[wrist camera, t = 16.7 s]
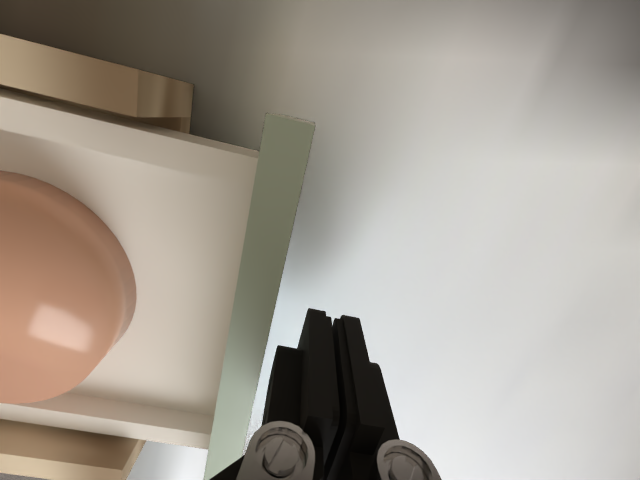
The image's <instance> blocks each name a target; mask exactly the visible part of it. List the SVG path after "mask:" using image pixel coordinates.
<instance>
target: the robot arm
mask: <svg viewBox="0 0 640 480" xmlns="http://www.w3.org/2000/svg"><path fill="white" fill-rule="evenodd" d="M209 480H441V478H440V476H439V473H438V471H437V469H436V468H435V466H434V464H433V463H432V461H431V460H430V459H429V457H428V456H427V455H426V454H425V453H424V452H423V451H422V450H420V449H419V448H418V447H416V446H415V445H413V444H411V443H409V442H406V441H403V440H400V439H399V436H398V432H397V428H396V424H395V421H394V417H393V413H392V410H391V406H390V402H389V399H388V395H387V391H386V387H385V384H384V380H383V376H382V373H381V369H380V367H379V365H378V364H377V363H371V362H370V361H369V357H368V353H367V348H366V344H365V340H364V335H363V331H362V327H361V323H360V319H359V318H356V317H350V316H345V315H342V316H341V318H340V319H337V318H335V320H334V322H333V325H332V321H331V317H327V316H326V312H325V311H320V310H315V309H310V308H309V309H308V311H307V314H306V318H305V322H304V325H303V329H302V333H301V337H300V340H299V344H298V348H297V349H295V348H290V347H285V346H279V345H278V346H277V349H276V353H275V357H274V361H273V366H272V370H271V375H270V380H269V385H268V390H267V396H266V402H265V408H264V414H263V421H262V426H261V427H260V428H259V429H258V430H257V431H256V432H255V433H254V435H253V437H252V438H251V440H250V442H249V445H248V448H247V451H246V453H245V455H244V456H242V457H241V458H239V459H238V460H236V461H235V462H234V463H232V464H231V465H229V466H228V467H226V468H225V469H224V470H222V471H221V472H219V473H218V474H216V475H215V476H214V477H212V478H211V479H209Z"/></svg>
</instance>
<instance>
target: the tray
mask: <svg viewBox="0 0 640 480" xmlns="http://www.w3.org/2000/svg"><path fill="white" fill-rule="evenodd" d="M314 130H315V123H313V122H309V121H306V120H302V119H298V118H294V117H290V116H286V115H282V114H269V113H266V115H265V121H264V127H263V133H262V139H261V145H260V151H257V150H253V149H248V148H244V147H240V146H236V145H232V144H228V143H224V142H220V141H215V140H211V139H207V138H203V137H199V136H195V135H191V134H187V133H182V132H178V131H174V130H170V129H166V128H162V127H158V126H154V125H149V124H145V123H141V122H137V121H133V120H129V119H125V118H121V117H116V116H112V115H108V114H104V113H100V112H96V111H92V110H88V109H83V108H79V107H75V106H71V105H67V104H63V103H59V102H55V101H50V100H46V99H42V98H38V97H34V96H30V95H26V94H22V93H18V92H13V91H9V90H5V89H1V88H0V170H1V171H8V172H14V173H19V174H23V175H26V176H30V177H34V178H36V179H39V180H41V181H44V182H46V183H49V184H51V185H53V186H55V187H57V188H59V189H61V190H63V191H65V192H67V193H68V194H70V195H71V196H73V197H74V198H76V199H77V200H79V201H80V202H82V203H83V204H84V205H85V206H87V207H88V208H89V209H90V210H92V211H93V212H94V213H95V214H96V215H97V216H98V217H99V218H100V219H101V220H102V221H103V222H104V223H105V224H106V225H107V226H108V228H109V229H110V230H111V231H112V233H113V234H114V235H115V236H116V238H117V239H118V241H119V242H120V244H121V246H122V247H123V249H124V251H125V253H126V255H127V257H128V259H129V261H130V264H131V267H132V270H133V273H134V277H135V283H136V294H137V300H136V307H135V312H134V315H133V319H132V321H131V323H130V325H129V327H128V329H127V331H126V332H125V333H124V335H123V336H122V337H121V339H120V340H119V341H118V342H117V343H116V344H115V346H114V347H113V348H112V349H111V350H110V351H109V352H108V354H107V355H106V356H105V357H104V358H103V359H102V360H101V362H100V363H99V364H98V365H97V366H96V367H95V368H94V370H93V371H92V372H91V373H90V374H89V375H88V376H87V377H86V378H85V379H84V380H83V381H82V382H81V383H80V384H78V385H77V386H76V387H74V388H73V389H71V390H70V391H67V392H65V393H63V394H61V395H59V396H56V397H53V398H50V399H47V400H43V401H37V402H32V403H20V404H9V403H0V419H6V420H12V421H19V422H26V423H33V424H39V425H46V426H53V427H60V428H66V429H73V430H80V431H87V432H94V433H100V434H107V435H114V436H121V437H127V438H134V439H141V440H148V441H155V442H161V443H168V444H175V445H182V446H188V447H195V448H202V449H209V450H208V456H207V462H206V468H205V473H204V479H203V480H209V479H211V478H212V477H214V476H215V475H216V474H218V473H219V472H221V471H222V470H224V469H225V468H226V467H228V466H229V465H231V464H232V463H234V462H235V461H236V460H238V459H239V458H241V457H242V453H243V448H244V444H245V439H246V435H247V430H248V426H249V421H250V417H251V412H252V408H253V403H254V399H255V394H256V390H257V385H258V381H259V376H260V372H261V367H262V363H263V358H264V354H265V349H266V345H267V341H268V336H269V332H270V327H271V323H272V318H273V314H274V309H275V305H276V300H277V296H278V291H279V287H280V282H281V278H282V273H283V269H284V264H285V260H286V255H287V251H288V246H289V242H290V237H291V233H292V228H293V224H294V219H295V215H296V210H297V206H298V201H299V197H300V192H301V188H302V183H303V179H304V174H305V170H306V166H307V161H308V157H309V152H310V148H311V143H312V139H313V134H314Z"/></svg>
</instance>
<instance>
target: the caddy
mask: <svg viewBox="0 0 640 480" xmlns="http://www.w3.org/2000/svg"><path fill="white" fill-rule="evenodd" d="M0 88H1V89H5V90H9V91H13V92H18V93H22V94H26V95H30V96H34V97H38V98H42V99H46V100H50V101H55V102H59V103H63V104H67V105H71V106H75V107H79V108H83V109H88V110H92V111H96V112H100V113H104V114H108V115H112V116H116V117H121V118H125V119H129V120H133V121H137V122H141V123H145V124H149V125H154V126H158V127H162V128H166V129H170V130H174V131H178V132H182V133H187V134H189V131H190V121H191V110H192V100H193V89H194V84H190V83H186V82H183V81H179V80H175V79H172V78H168V77H164V76H161V75H157V74H153V73H149V72H146V71H142V70H138V69H134V68H131V67H127V66H123V65H119V64H115V63H111V62H107V61H103V60H100V59H96V58H92V57H88V56H84V55H80V54H76V53H72V52H69V51H65V50H61V49H57V48H53V47H49V46H45V45H41V44H38V43H34V42H30V41H26V40H22V39H18V38H14V37H10V36H7V35H3V34H0ZM145 442H146V440H141V439H134V438H127V437H121V436H114V435H107V434H100V433H94V432H87V431H80V430H73V429H66V428H60V427H53V426H46V425H39V424H33V423H26V422H19V421H12V420H6V419H0V473H7V474H14V475H22V476H29V477H37V478H45V479H52V480H126V479H127V477H128V475H129V473H130V471H131V469H132V467H133V465H134V463H135V461H136V460H137V458H138V456H139V454H140V452H141V450H142V448H143V446H144V444H145Z"/></svg>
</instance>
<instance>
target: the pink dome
mask: <svg viewBox="0 0 640 480" xmlns="http://www.w3.org/2000/svg"><path fill="white" fill-rule="evenodd" d="M136 300H137V294H136V283H135V277H134V273H133V270H132V267H131V264H130V261H129V259H128V257H127V255H126V253H125V251H124V249H123V247H122V246H121V244H120V242H119V241H118V239H117V238H116V236H115V235H114V234H113V233H112V231H111V230H110V229H109V228H108V226H107V225H106V224H105V223H104V222H103V221H102V220H101V219H100V218H99V217H98V216H97V215H96V214H95V213H94V212H93V211H92V210H90V209H89V208H88V207H87V206H85V205H84V204H83V203H82V202H80V201H79V200H77V199H76V198H74V197H73V196H71V195H70V194H68V193H67V192H65V191H63V190H61V189H59V188H57V187H55V186H53V185H51V184H49V183H46V182H44V181H41V180H39V179H36V178H34V177H30V176H26V175H23V174H19V173H14V172H8V171H1V170H0V403H9V404H20V403H32V402H37V401H43V400H47V399H50V398H53V397H56V396H59V395H61V394H63V393H65V392H67V391H70V390H71V389H73V388H74V387H76V386H77V385H78V384H80V383H81V382H82V381H83V380H84V379H85V378H86V377H87V376H88V375H89V374H90V373H91V372H92V371H93V370H94V368H95V367H96V366H97V365H98V364H99V363H100V362H101V360H102V359H103V358H104V357H105V356H106V355H107V354H108V352H109V351H110V350H111V349H112V348H113V347H114V346H115V344H116V343H117V342H118V341H119V340H120V339H121V337H122V336H123V335H124V333H125V332H126V331H127V329H128V327H129V325H130V323H131V321H132V319H133V315H134V312H135V307H136Z"/></svg>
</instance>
